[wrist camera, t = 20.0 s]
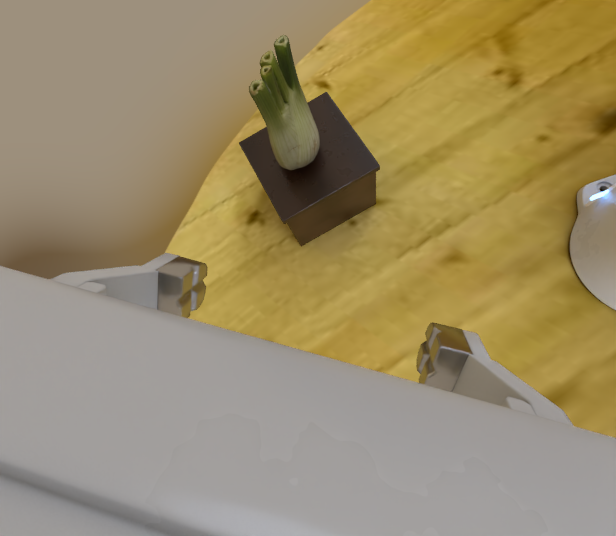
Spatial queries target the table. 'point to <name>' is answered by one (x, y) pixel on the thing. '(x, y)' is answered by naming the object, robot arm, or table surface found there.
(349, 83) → the table surface
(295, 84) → the fennel bulb
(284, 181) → the stand
